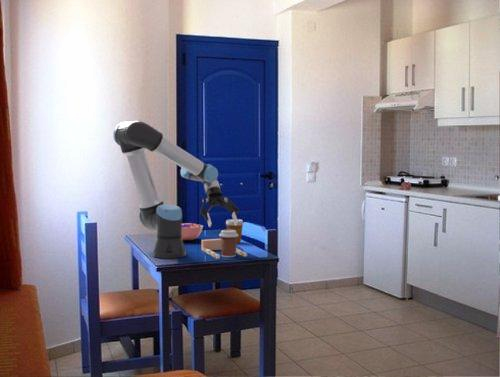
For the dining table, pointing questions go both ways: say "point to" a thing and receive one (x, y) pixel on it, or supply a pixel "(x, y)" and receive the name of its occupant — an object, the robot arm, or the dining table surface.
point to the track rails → (219, 255)
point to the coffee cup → (228, 243)
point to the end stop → (211, 244)
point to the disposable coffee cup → (235, 228)
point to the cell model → (190, 231)
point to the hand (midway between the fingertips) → (223, 224)
